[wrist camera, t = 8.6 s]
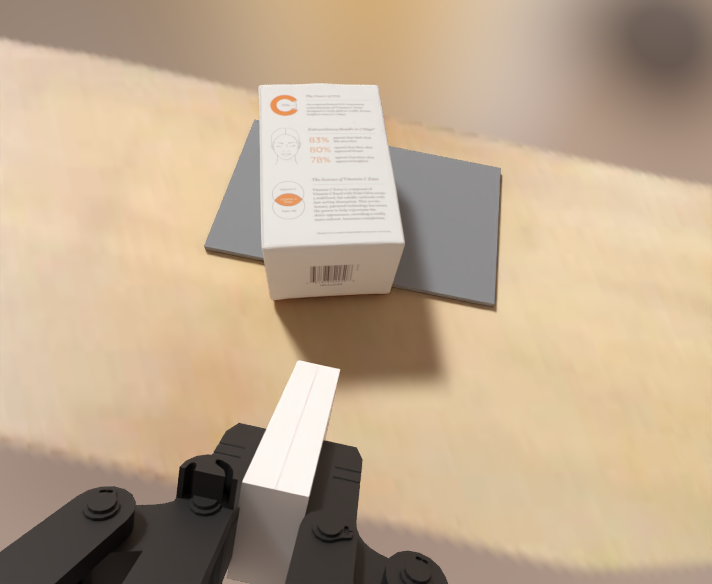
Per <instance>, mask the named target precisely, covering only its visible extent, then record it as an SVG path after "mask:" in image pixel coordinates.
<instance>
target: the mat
mask: <svg viewBox="0 0 712 584" xmlns="http://www.w3.org/2000/svg"><path fill="white" fill-rule="evenodd" d="M389 151H390V156H391V161H392V167H393V173H394V178H395V184H396V190H397V196H398V203H399V209H400V215H401V221H402V227H403V233H404V240H405V246H404V249H403V253H402V256H401V259H400V262H399V265H398V268H397V271H396V274H395V277H394V281H393V283H392V287H396V288H401V289H406V290H411V291H416V292H421V293H426V294H431V295H436V296H441V297H446V298H451V299H456V300H461V301H466V302H471V303H476V304H481V305H486V306H491V307H493V305H494V304H495V282H496V260H497V238H498V217H499V195H500V173H501V168H497V167H492V166H487V165H482V164H477V163H472V162H467V161H462V160H457V159H452V158H447V157H442V156H437V155H431V154H426V153H421V152H416V151H411V150H406V149H401V148H396V147H391V146H389ZM204 247H205V249H206V250H211V251H216V252H221V253H226V254H231V255H236V256H241V257H246V258H251V259H256V260H261V261H264V258H263V252H262V244H261V203H260V124H259V120H254V122H253V125H252V127H251V130H250V132H249V135H248V137H247V140H246V142H245V145H244V147H243V150H242V152H241V155H240V157H239V160H238V163H237V165H236V168H235V170H234V173H233V175H232V178H231V180H230V183H229V185H228V188H227V190H226V193H225V195H224V198H223V200H222V203H221V205H220V208H219V210H218V213H217V215H216V218H215V220H214V223H213V225H212V228H211V230H210V233H209V235H208V238H207V240H206V243H205V245H204Z"/></svg>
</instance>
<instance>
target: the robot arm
mask: <svg viewBox="0 0 712 584" xmlns="http://www.w3.org/2000/svg"><path fill="white" fill-rule="evenodd" d="M339 373H340V369H336V368H332V367H327V366H323V365H318V364H313V363H309V362H304V361H300V360H298V362H297V364H296V366H295V368H294V371H293V373H292V375H291V377H290V379H289V381H288V384H287V386H286V388H285V390H284V392H283V394H282V397H281V399H280V401H279V403H278V405H277V407H276V410H275V412H274V414H273V416H272V418H271V420H270V423H269V425H268V427H267V429H264V428H260V427H255V426H251V425H246V424H241V423H238V424H237V425H235V426H233V427H232V428H230V429H229V430H227V431H226V432H225V434H224V436H223V437H222V439H221V441H220V443H219V444H218V446H217V447H216V449H215V451H214V453H213V454H212V455H201V456H196V457H193V458H191V459H189V460H187V461H185V462H184V463H183V464H182V465H181V466H180V469H179V478H178V486H177V495H176V499H175V500H174V501H173V502H169V503H165V504H157V505H136V502H135V499H134V497H133V495H132V494H131V493H129V492H128V491H127V490H125V489H122V488H118V487H99V488H95V489H91V490H88V491H86V492H84V493H82V494H80V495H79V496H77V497H76V498H74V499H73V500H71V501H70V502H68V503H67V504H66V505H64V506H63V507H62V508H60V509H59V510H57V511H56V512H55V513H53V514H52V515H51V516H49V517H48V518H46V519H45V520H44V521H42V522H41V523H40V524H38V525H37V526H35V527H34V528H33V529H31V530H30V531H28V532H27V533H26V534H24V535H23V536H22V537H20V538H19V539H18V540H16V541H15V542H13V543H12V544H10V545H9V546H8V547H6V548H5V549H4V550H2V551H1V552H0V584H222V581H223V579H224V576H225V574H226V571H227V569H228V574H227V578H228V579H232V580H237V581H241V582H245V583H250V584H448V582H447V580H446V577H445V575H444V574H443V572H442V570H441V569H440V567H439V566H438V565H437V564H436V563H435V562H434V561H432V560H431V559H430V558H428V557H426V556H425V555H422V554H420V553H417V552H412V551H403V552H397V553H396V554H394V555H393V556H391V557H390V558H387V557H385V556H383V555H381V554H379V553H377V552H376V551H374V550H372V549H371V548H370V547H369V546H367V544H365V543H364V542H363V540H362V539H361V537H360V536H359V533H358V531H357V527H356V519H357V509H358V499H359V489H360V480H361V470H362V458H361V456H360V453H359V451H358V449H357V448H356V447H352V446H347V445H343V444H338V443H334V442H329V441H325V439H326V435H327V430H328V425H329V421H330V416H331V411H332V406H333V401H334V397H335V392H336V387H337V382H338V378H339ZM228 566H229V568H228Z"/></svg>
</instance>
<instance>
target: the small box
mask: <svg viewBox="0 0 712 584" xmlns="http://www.w3.org/2000/svg"><path fill="white" fill-rule="evenodd" d="M259 124H260V203H261V244H262V252H263V258H264V264H265V270H266V276H267V282H268V288H269V294H270V298H271V300H281V299H288V298H303V297H319V296H336V295H356V294H388V293H390V290H391V287H392V283H393V281H394V277H395V274H396V271H397V268H398V265H399V262H400V259H401V256H402V253H403V249H404V246H405V240H404V233H403V227H402V221H401V215H400V209H399V203H398V196H397V190H396V184H395V178H394V173H393V167H392V161H391V156H390V151H389V145H388V140H387V134H386V128H385V122H384V116H383V110H382V105H381V99H380V93H379V87H378V86H377V85H338V84H321V83H319V84H318V83H317V84H300V85H260V86H259Z"/></svg>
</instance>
